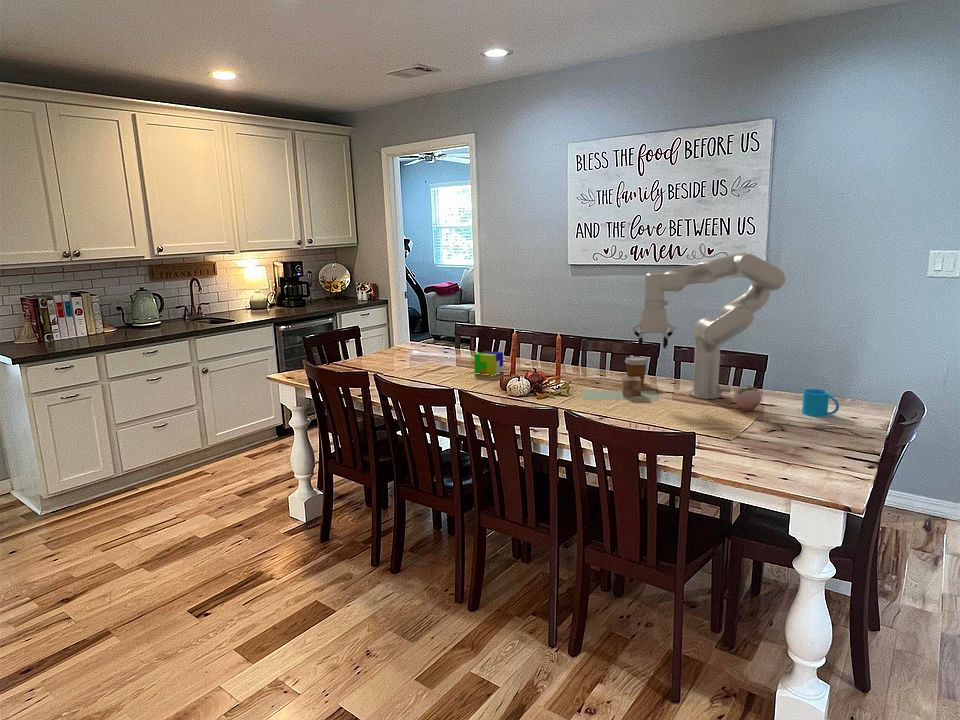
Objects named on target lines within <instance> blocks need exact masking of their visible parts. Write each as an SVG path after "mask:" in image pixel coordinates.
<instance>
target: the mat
mask: <svg viewBox="0 0 960 720" xmlns="http://www.w3.org/2000/svg"><path fill="white" fill-rule="evenodd" d="M582 400H584V401H585V400H586V401H587V400H588V401H589V400H590V401H593V400H595V401H649V402H650V401H651V402H652V401H655V402H657V401H659V402H660V401H661V399H660V397H659V395H658V393H657V391H656V390H641V398H626V397H623V395H622V390H595V389H594V390H588V389H586V390H582Z"/></svg>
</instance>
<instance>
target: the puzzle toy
mask: <svg viewBox="0 0 960 720" xmlns="http://www.w3.org/2000/svg"><path fill="white" fill-rule="evenodd" d="M473 355H474V359H473V360H474V374H475V373H480V374H489V375H494V374H497V373H499V372H502V371H503V372H504V352H503V351H494V350H492V351H491V350H483V351H481V352H477V353H474V354H473Z"/></svg>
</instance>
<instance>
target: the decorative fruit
mask: <svg viewBox="0 0 960 720" xmlns="http://www.w3.org/2000/svg"><path fill="white" fill-rule="evenodd" d="M759 391H761V390H760V389H759V388H757V387H752V386H751V387H749V385H747V387H744V388H739V389H738V390H737V391H736V392H735V394H734V398H733V399H734V403H735V405H736V406H737V408H739V409H740V410H742V411H744V412H745V413H746V412H747V413H748V412H751V411H753V410H754V409H756V408H757V407H758V406H759V405H760V403H761V400H762V396H761V394H760V392H759Z"/></svg>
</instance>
